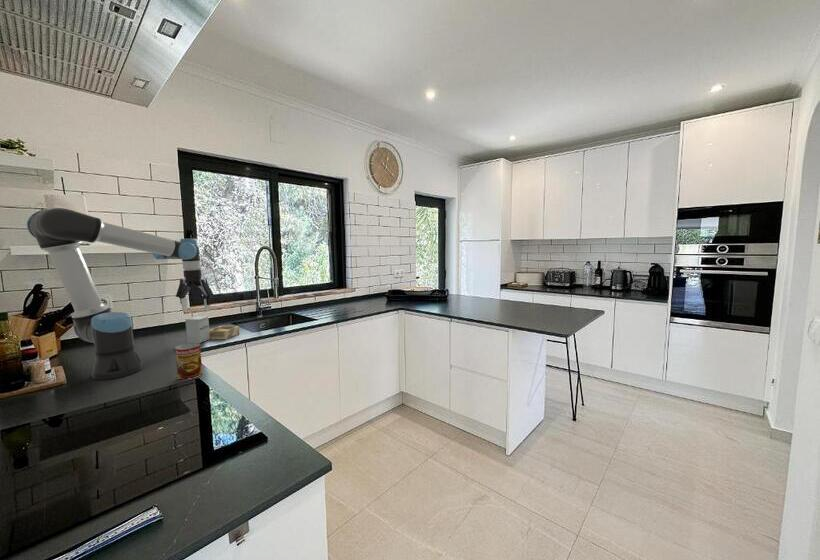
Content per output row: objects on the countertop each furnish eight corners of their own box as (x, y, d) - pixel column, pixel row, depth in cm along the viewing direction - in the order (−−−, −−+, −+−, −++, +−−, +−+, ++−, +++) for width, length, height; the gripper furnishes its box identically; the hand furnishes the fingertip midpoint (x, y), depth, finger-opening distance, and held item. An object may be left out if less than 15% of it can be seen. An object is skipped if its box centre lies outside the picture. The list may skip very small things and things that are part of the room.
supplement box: (200, 344, 171) (197, 319, 170) (187, 343, 172) (184, 319, 171) (210, 339, 178) (208, 316, 177) (198, 339, 180) (196, 315, 178)
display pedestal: (224, 340, 177) (224, 331, 177) (206, 339, 180) (206, 330, 179) (239, 334, 188) (238, 326, 188) (222, 333, 190) (221, 325, 190)
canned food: (178, 382, 125) (174, 350, 123) (178, 375, 131) (175, 345, 130) (203, 377, 129) (200, 346, 128) (202, 370, 136) (199, 341, 134)
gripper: (219, 268, 172) (223, 309, 175) (177, 268, 177) (181, 308, 180) (207, 270, 165) (211, 313, 167) (164, 270, 170) (169, 312, 172)
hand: (196, 311), depth 174 cm, fingers open, 13 cm apart
